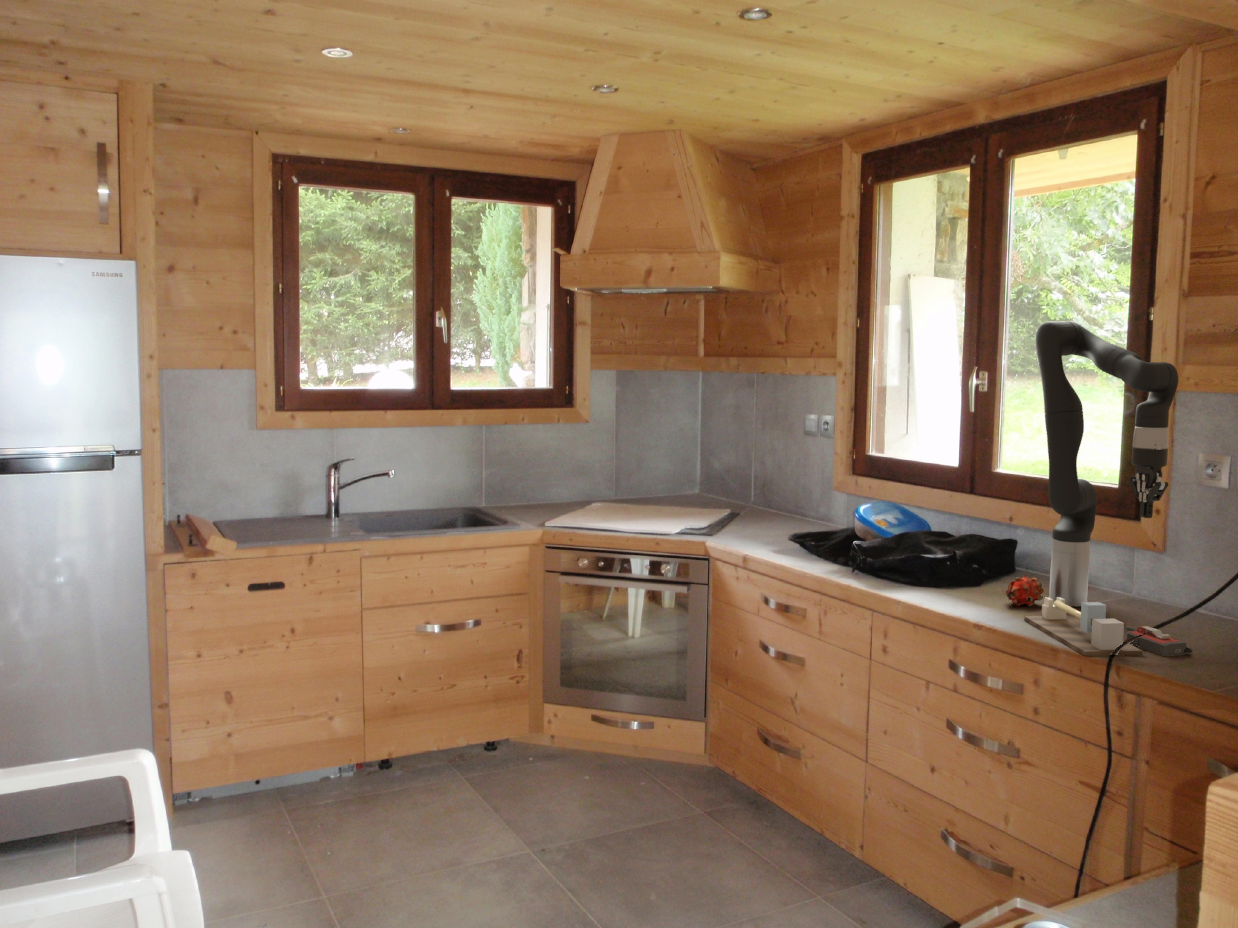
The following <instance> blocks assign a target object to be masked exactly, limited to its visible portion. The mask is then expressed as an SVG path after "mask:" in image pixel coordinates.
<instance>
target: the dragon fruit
mask: <svg viewBox="0 0 1238 928" xmlns="http://www.w3.org/2000/svg"><path fill="white" fill-rule="evenodd" d="M1043 593H1044V588H1043V585H1042V582H1041V581H1040V580H1039V581H1038V578H1037V577H1032V578H1030V577H1028V575H1026V574H1025V575H1023V577H1019V576H1018V577H1016V578H1015V579H1014V580H1011V581H1010V582H1008V585H1007V589H1006V591H1005V593H1004V594H1005V595H1006V596H1007V598H1008V600H1009V601H1011V603H1010V605H1011V606H1016V607H1020V606H1022V605H1026V606H1027V607H1029V608H1030V607H1031V606H1033V605H1035V602H1036V601H1041V600H1044V599H1043V598H1044V596H1043V595H1041V594H1043Z"/></svg>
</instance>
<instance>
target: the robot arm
mask: <svg viewBox="0 0 1238 928" xmlns="http://www.w3.org/2000/svg"><path fill="white" fill-rule="evenodd" d="M1034 340H1035V341H1034V344H1035V350H1036V357H1037V361H1038V367H1039V371H1040V377H1041V386H1042V393H1043V394H1042V395H1043V396H1042V397H1043V404H1044V405H1043V407H1044V408H1043V409H1044V421H1045V431H1046V439H1047V454H1048V489H1047V490H1048V501H1049V505H1050V507H1051V508H1052V509H1053V511H1054V512H1055V513H1057V514H1058V515H1060V518H1059V521H1058V522H1057V523H1056V525H1055V526H1054V527H1053V528H1052V534H1051V535H1052V536H1051V537H1052V539H1051V558H1050V560H1051V561H1050V572H1049V590H1048V591H1049V592H1048V597H1049V598H1051V599H1053V604H1054V602H1055V601H1056V597H1061V598H1063V599H1065V604H1066V605H1068V606H1070V607H1081V603H1082V602H1088V592H1089V591H1088V589H1089V588H1088V587H1089V574H1090V573H1089V570H1090V556H1091V555H1090V553H1091V552H1090V549H1091V535H1092V533H1093V531H1094V528H1095V521H1096V511H1097V492H1096V490H1095V487H1094V486H1093V485H1092V483H1091V482H1090V481H1088V480H1086V479H1083V478H1079V477H1078V467H1077V458H1078V454H1079V450H1080V447H1081V444H1082V441H1083V436H1084V429H1085V426H1084V425H1085V423H1084V422H1085V421H1084V411H1083V410H1084V409H1083V404H1082V401H1081V398H1080V397H1079V395H1078V394H1077V392H1076V391H1075V389H1074V388H1073V386H1072V385H1071V383H1070V382H1069V380H1068V378H1067V376H1066V373H1065V370H1064V364H1063V357H1064V356H1065V357H1066V356H1079V357H1083V358H1086V359H1089V360H1090V361H1092V362H1093V364H1094V365H1095V367H1096V368H1098V369H1099V370H1100V371H1102V372H1104V373H1105V374H1108V375H1110V376H1112V377H1115V378H1117V379H1120V380H1121V381H1122V382H1123V383H1124V384H1126V385H1127V386H1129V387H1130V388H1132V389H1133V390H1136V391H1139V392H1143V393H1149V395H1148V397H1147V400H1145V401H1142V402H1140V403H1139V404H1137V405H1136V408H1135V416H1134V417H1135V418H1134V420H1135V421H1134V430H1133V436H1132V450H1131V451H1132V452H1131V464H1132V465H1133V466H1136V467H1135V474H1134V475H1131V476H1129V477H1128V478H1129V483H1130V486H1131V488H1132V491H1133V493H1134V496H1135V498H1136V499H1138V501H1139V502H1140V510H1139V511H1140V512H1139V516H1140V517H1141V518H1144V519H1151V518H1153V513H1154V512H1153V511H1154V503H1156V502H1159V501H1161V499H1162V497H1163V495H1164V493H1165V492H1166V491H1167V489H1168V486H1169V482H1168V481H1164V480H1163V471H1162V468H1164V467H1167V465H1168V456H1169V455H1168V454H1169V453H1168V452H1169V441H1170V440H1169V438H1170V436H1169V417H1170V408H1171V406H1172V404H1173V401H1174V399H1175V395H1176V392H1177V388H1178V386H1179V385H1178V384H1179V373H1178V370H1177V368H1176V367H1175V365H1174V364H1172V363H1170V362H1164V361H1159V362H1156V361H1155V362H1154V361H1153V362H1151V361H1148V362H1147V361H1144V359H1143V358H1142V356H1141V355H1140V354H1137V353H1136V352H1133V351H1131V350H1129V349H1127V348H1124V347H1121V346H1118V345H1115V344H1114V343H1111V342H1109V341H1107V340H1105V339H1103V338H1101V337H1100V336H1098V335H1096V334H1094V333H1093V332H1092V331H1090V330H1089V329H1087V328H1086V327H1084V326H1083V325H1081V324H1080V323H1078V322H1075V321H1072V320H1058V321H1057V320H1055V321H1054V320H1053V321H1049V320H1048V321H1044V322H1042V323H1041V324H1040V325H1038V327H1037V329H1036V332H1035V339H1034Z"/></svg>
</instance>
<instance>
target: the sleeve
mask: <svg viewBox="0 0 1238 928" xmlns="http://www.w3.org/2000/svg"><path fill="white" fill-rule="evenodd" d="M1080 609H1081V610H1080V612H1081V623H1080V630H1082V631H1084V632H1086V633H1092V626H1091V618H1093V619H1107V618H1106V617H1107V615H1106V614H1107V605H1106V604H1105V603H1102V602H1100V601H1087V602H1082V603H1081V606H1080Z"/></svg>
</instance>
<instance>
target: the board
mask: <svg viewBox="0 0 1238 928" xmlns="http://www.w3.org/2000/svg"><path fill="white" fill-rule="evenodd" d="M1023 620H1024V621H1026V622H1027V623H1029V624H1030V625H1031V626H1033V627H1035V628H1037V629H1038V630H1040V631H1042V632H1043V633H1045V634H1046V635H1048V636H1050V637H1052V638H1053V639H1055V640H1057V641H1058V642H1060V643H1062V644H1064V645H1065V646H1067V647H1069V648H1071V649H1073V650H1074V651H1075V650H1076V652H1077V653H1079V654H1080V655H1082V656H1083V657H1101V656H1102V657H1104V656H1105V657H1107V656H1108V657H1109V655H1110V654H1111V653H1113V652H1114V650H1099V649H1098V648H1096V647H1094V646H1092V645H1091V638H1092V633H1086V632H1084V631H1082V630H1080V623H1081V620H1080V619H1078V618H1076V617H1075V616H1073V615H1066V619H1048V620H1046V619H1044V618H1043V617H1042V615H1040V616H1039V615H1035V616H1033V615H1028V616H1026V615H1025V616H1024V618H1023ZM1091 626H1092V625H1091ZM1124 641H1125V640H1123V642H1124ZM1143 653H1144V650H1143V649H1141V648H1139V647H1136V646H1134V645H1131V644H1127V645H1126V646H1125V647H1124V648H1123V650H1120V651H1119V653H1118V657H1119V655H1127V656H1143Z"/></svg>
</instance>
